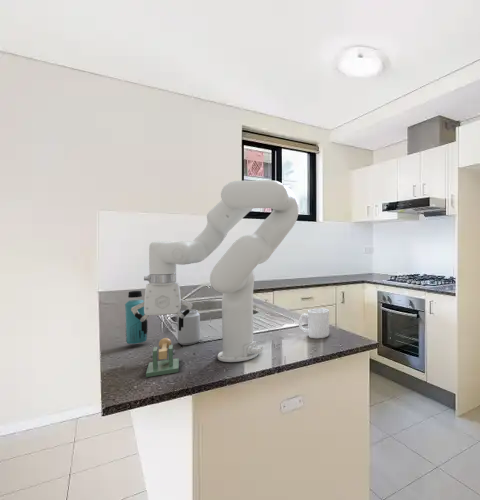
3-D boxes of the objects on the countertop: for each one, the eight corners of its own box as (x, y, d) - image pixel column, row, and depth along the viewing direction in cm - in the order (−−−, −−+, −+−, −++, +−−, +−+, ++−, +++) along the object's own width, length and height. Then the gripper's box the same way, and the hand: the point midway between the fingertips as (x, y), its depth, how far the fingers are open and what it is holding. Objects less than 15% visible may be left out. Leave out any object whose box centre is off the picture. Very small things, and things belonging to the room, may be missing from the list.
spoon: (159, 348, 117) (158, 337, 117) (171, 346, 118) (171, 336, 118) (155, 362, 103) (155, 350, 103) (170, 360, 105) (169, 348, 105)
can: (198, 344, 130) (197, 312, 130) (175, 346, 128) (174, 313, 127) (202, 339, 137) (201, 308, 137) (180, 340, 135) (179, 309, 135)
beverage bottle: (139, 348, 126) (138, 292, 126) (121, 348, 126) (119, 292, 126) (151, 342, 133) (150, 289, 132) (134, 342, 133) (132, 289, 132)
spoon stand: (149, 366, 108) (148, 345, 108) (179, 361, 112) (178, 341, 112) (145, 377, 99) (145, 354, 99) (178, 372, 103) (178, 350, 103)
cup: (327, 338, 137) (327, 312, 136) (296, 338, 137) (296, 312, 136) (330, 332, 145) (330, 308, 145) (301, 333, 145) (300, 308, 145)
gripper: (129, 281, 108) (129, 337, 108) (193, 279, 116) (193, 331, 117) (132, 279, 114) (132, 331, 115) (192, 277, 123) (192, 326, 123)
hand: (163, 331), depth 116 cm, fingers open, 9 cm apart
